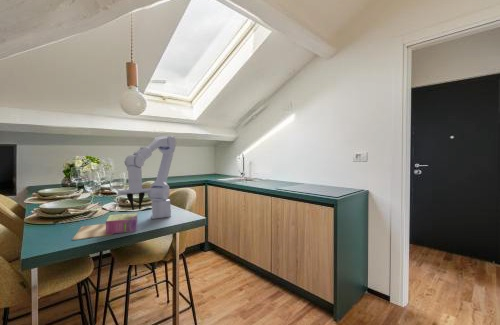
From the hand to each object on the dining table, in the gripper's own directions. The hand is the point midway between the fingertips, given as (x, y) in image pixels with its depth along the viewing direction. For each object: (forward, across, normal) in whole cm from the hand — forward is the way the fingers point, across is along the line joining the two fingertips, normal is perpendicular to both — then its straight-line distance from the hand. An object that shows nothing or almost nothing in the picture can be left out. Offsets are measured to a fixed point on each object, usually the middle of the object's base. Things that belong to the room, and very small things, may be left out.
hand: (136, 209), depth 117 cm
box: (+5, -12, -3) cm, 13 cm away
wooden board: (+8, -17, 0) cm, 18 cm away
